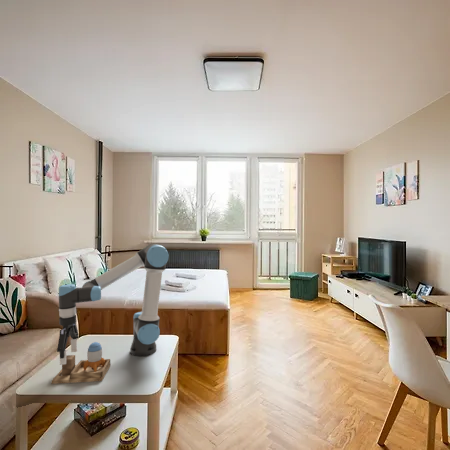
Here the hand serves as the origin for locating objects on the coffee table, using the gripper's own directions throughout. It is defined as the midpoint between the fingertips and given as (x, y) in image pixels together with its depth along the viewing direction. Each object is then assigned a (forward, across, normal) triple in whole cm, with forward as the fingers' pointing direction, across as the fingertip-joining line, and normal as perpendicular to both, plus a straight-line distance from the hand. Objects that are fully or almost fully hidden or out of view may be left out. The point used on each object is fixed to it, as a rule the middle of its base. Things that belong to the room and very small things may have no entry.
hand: (68, 357), depth 147 cm
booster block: (+8, +1, 0) cm, 9 cm away
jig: (+9, +1, +7) cm, 11 cm away
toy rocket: (+7, 0, +11) cm, 14 cm away
